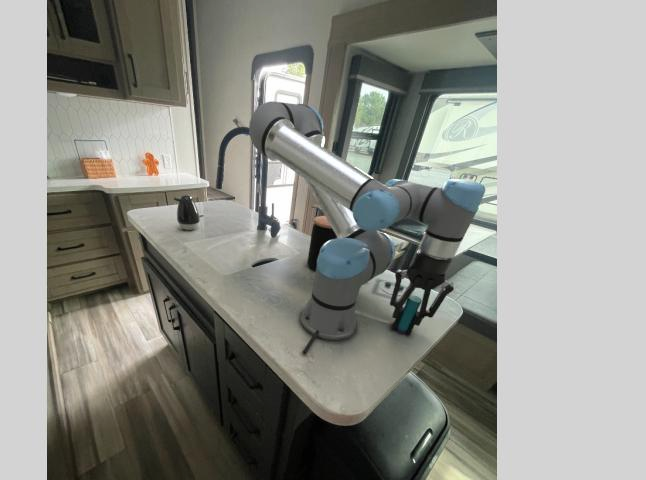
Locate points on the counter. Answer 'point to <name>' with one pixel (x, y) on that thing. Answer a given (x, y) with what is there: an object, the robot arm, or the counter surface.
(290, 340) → the counter surface
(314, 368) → the counter surface
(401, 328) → the dot marker
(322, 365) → the counter surface
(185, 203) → the pump dispenser
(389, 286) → the eye dot
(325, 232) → the coffee jar
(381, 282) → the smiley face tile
